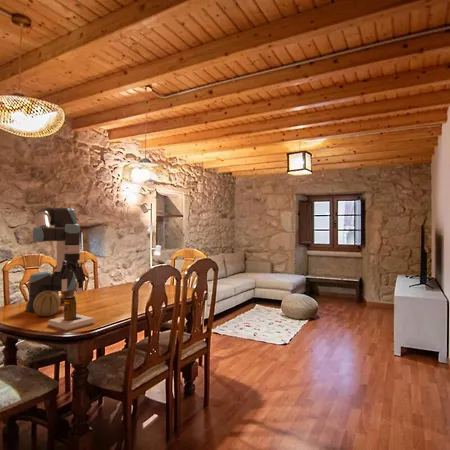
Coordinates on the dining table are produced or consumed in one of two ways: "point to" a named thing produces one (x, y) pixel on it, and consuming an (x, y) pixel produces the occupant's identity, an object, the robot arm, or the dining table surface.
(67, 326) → the stand
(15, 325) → the dining table surface
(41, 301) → the cantaloupe
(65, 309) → the condiment
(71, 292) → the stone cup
